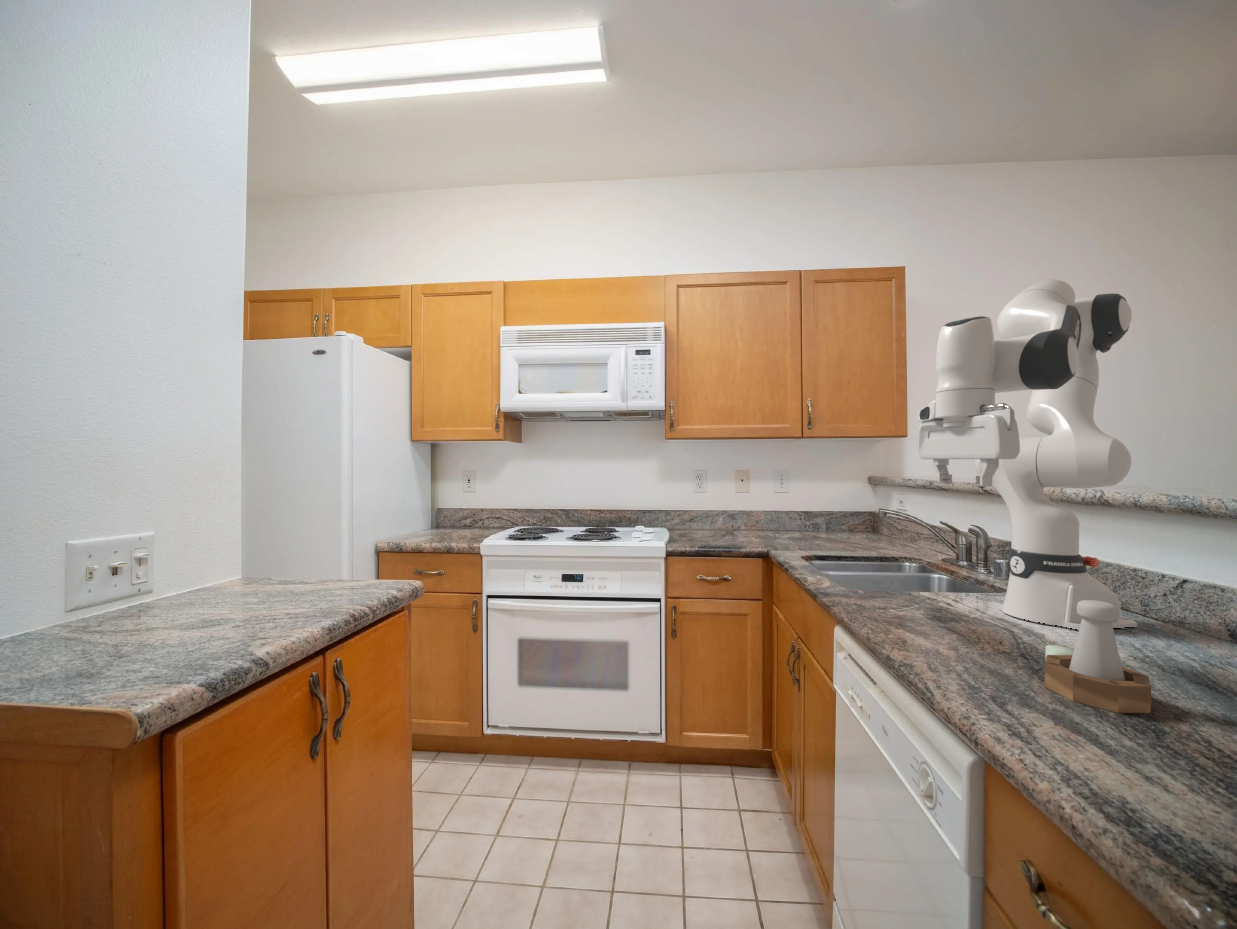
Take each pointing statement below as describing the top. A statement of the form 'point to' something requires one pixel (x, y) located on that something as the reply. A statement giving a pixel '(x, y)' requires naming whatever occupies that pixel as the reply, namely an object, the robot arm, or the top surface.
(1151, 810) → the top surface
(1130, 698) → the walnut ring
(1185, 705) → the top surface
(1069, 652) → the smooth pale green pebble
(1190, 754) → the top surface
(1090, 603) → the salt shaker
